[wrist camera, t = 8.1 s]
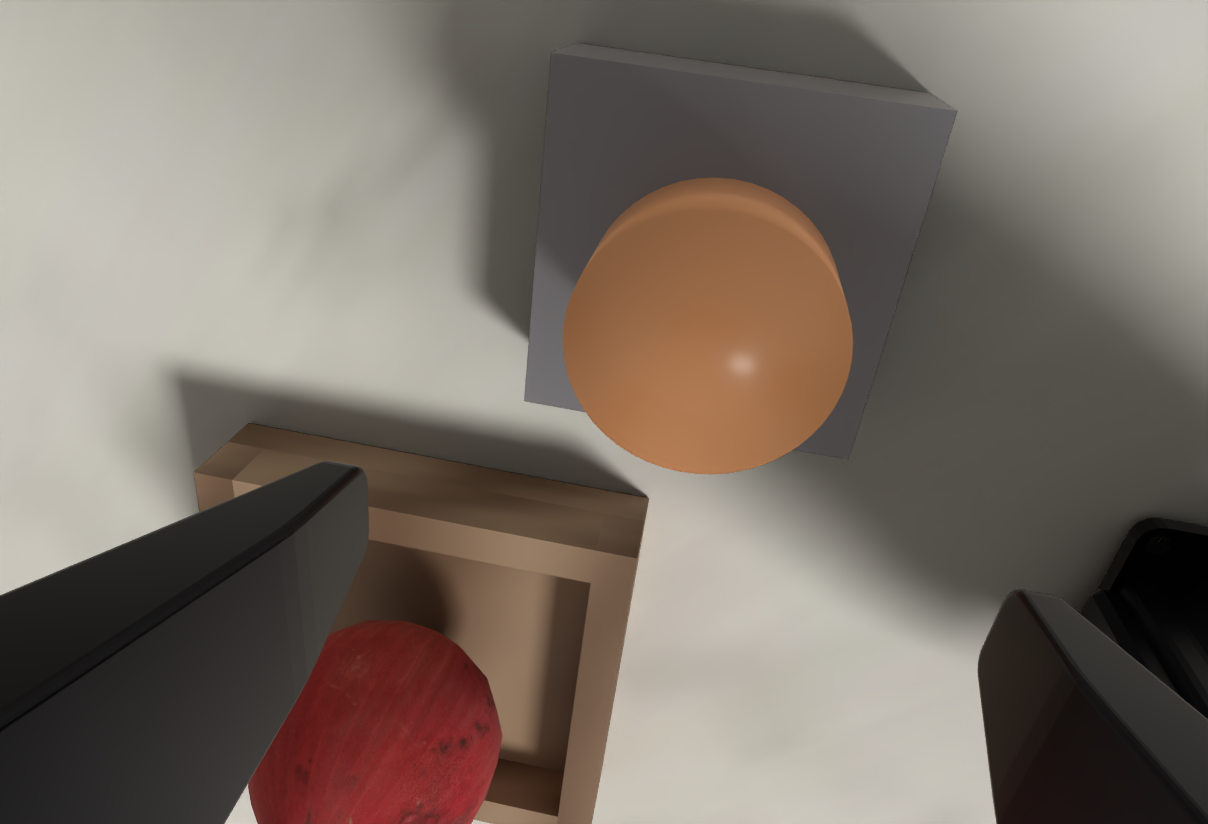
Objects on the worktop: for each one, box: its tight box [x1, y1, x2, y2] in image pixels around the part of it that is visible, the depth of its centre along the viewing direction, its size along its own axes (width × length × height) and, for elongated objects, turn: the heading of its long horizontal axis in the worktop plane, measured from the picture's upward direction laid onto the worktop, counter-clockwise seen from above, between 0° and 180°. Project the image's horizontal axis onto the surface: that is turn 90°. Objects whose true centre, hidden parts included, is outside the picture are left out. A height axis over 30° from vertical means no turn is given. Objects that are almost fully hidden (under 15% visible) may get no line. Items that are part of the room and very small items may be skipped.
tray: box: [194, 423, 649, 824], centre depth 23 cm, size 11×11×2 cm
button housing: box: [524, 43, 957, 460], centre depth 17 cm, size 7×7×2 cm
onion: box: [248, 620, 503, 824], centre depth 20 cm, size 6×6×8 cm
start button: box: [563, 178, 853, 474], centre depth 13 cm, size 4×4×2 cm
